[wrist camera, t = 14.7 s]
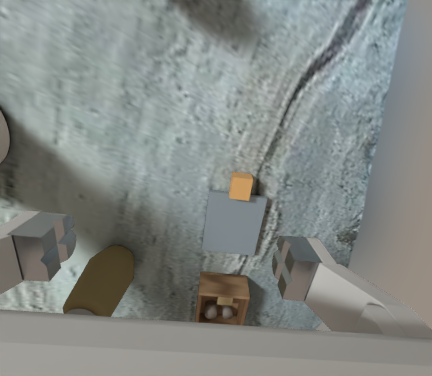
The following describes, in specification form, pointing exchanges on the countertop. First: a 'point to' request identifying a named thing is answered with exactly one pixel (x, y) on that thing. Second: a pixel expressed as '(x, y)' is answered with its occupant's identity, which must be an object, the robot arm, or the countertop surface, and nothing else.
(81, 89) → the countertop surface
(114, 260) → the squeeze bottle
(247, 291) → the walnut box
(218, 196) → the lid
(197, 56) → the countertop surface
